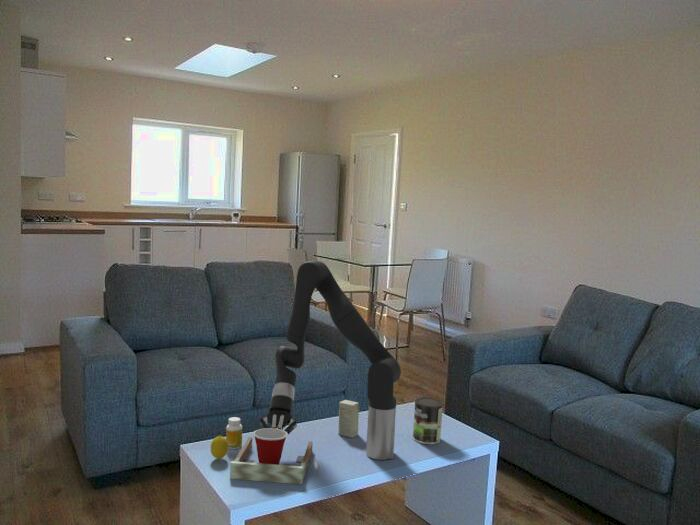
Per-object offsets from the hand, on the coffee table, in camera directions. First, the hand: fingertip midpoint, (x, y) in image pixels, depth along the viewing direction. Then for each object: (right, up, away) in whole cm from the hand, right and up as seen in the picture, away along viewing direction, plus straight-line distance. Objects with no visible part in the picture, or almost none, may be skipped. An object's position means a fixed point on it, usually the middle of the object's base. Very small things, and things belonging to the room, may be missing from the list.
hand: (274, 448), depth 195 cm
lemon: (-18, -4, +1) cm, 18 cm away
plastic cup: (-1, -5, -4) cm, 7 cm away
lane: (0, -5, 0) cm, 5 cm away
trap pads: (0, -5, +1) cm, 5 cm away
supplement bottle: (-15, -3, +12) cm, 19 cm away
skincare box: (+24, -3, +27) cm, 36 cm away
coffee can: (+53, -5, +26) cm, 59 cm away
